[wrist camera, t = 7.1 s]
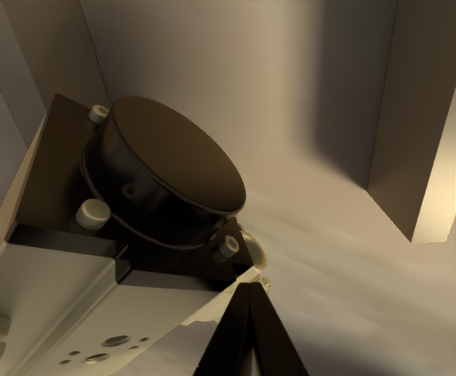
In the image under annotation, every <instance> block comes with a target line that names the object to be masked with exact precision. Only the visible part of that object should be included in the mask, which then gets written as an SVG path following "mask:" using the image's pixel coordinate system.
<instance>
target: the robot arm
mask: <svg viewBox="0 0 456 376" xmlns="http://www.w3.org/2000/svg"><path fill="white" fill-rule="evenodd" d="M253 349H254V356H255V363H256V369H257V376H310V375H309V373H308V371H307V369H306V368H305V367H304V364H303V362H302V360H301V358H300V356H299V354H298V352H297V350H296V348H295V346H294V345H293V343H292V341H291V339H290V337H289V335H288V333H287V331H286V329H285V327H284V326H283V324H282V322H281V320H280V318H279V316H278V314H277V312H276V310H275V309H274V307H273V305H272V303H271V301H270V299H269V297H268V295H267V293H266V291H265V290H264V288H263V286H262V284H261V283H260V282H250V283H249V282H240V283H239V284H238V285H237V287H236V289H235V291H234V293H233V295H232V297H231V299H230V301H229V304H228V306H227V308H226V310H225V312H224V314H223V316H222V318H221V320H220V322H219V324H218V326H217V328H216V330H215V332H214V334H213V336H212V338H211V340H210V342H209V344H208V346H207V348H206V350H205V352H204V354H203V356H202V358H201V360H200V362H199V364H198V367H197V368H196V370H195V372H194V374H193V376H251V371H252V357H253Z"/></svg>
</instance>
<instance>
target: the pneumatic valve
mask: <svg viewBox="0 0 456 376" xmlns="http://www.w3.org/2000/svg"><path fill="white" fill-rule="evenodd" d="M245 201H246V190H245V186H244V183H243V181H242V178H241V176H240V174H239V172H238V170H237V169H236V167H235V166H234V164H233V163H232V161H231V160H230V158H229V157H228V156H227V155H226V153H225V152H224V151H223V150H222V149H221V148H220V146H219V145H218V144H217V143H216V142H215V141H214V140H213V139H212V138H211V137H210V136H209V135H207V134H206V133H205V132H204V131H203V130H202V129H200V128H199V127H198V126H197V125H195V124H194V123H193V122H191V121H190V120H189V119H187V118H186V117H184V116H183V115H181V114H180V113H178V112H177V111H175V110H173V109H171V108H169V107H167V106H165V105H163V104H161V103H159V102H156V101H154V100H151V99H148V98H143V97H138V96H127V97H123V98H120V99H118V100H117V101H115V102H114V104H113V105H112V107H111V108H110V110H107V109H106V108H105V107H103V106H100V105H94V106H93V108H92V109H90V108H88V107H86V106H84V105H82V104H80V103H78V102H76V101H74V100H71V99H69V98H67V97H65V96H63V95H61V94H59V93H56V94H55V96H54V98H53V100H52V102H51V104H50V106H49V108H48V110H47V112H46V114H45V116H44V118H43V120H42V123H41V125H40V127H39V129H38V131H37V133H36V135H35V137H34V139H33V141H32V143H31V145H30V147H29V149H28V151H27V154H26V156H25V158H24V160H23V162H22V164H21V166H20V168H19V170H18V172H17V174H16V176H15V178H14V180H13V182H12V184H11V187H10V189H9V191H8V193H7V195H6V197H5V199H4V201H3V203H2V205H1V207H0V376H111V375H112V374H114V373H115V372H116V371H118V370H119V369H120V368H122V367H123V366H124V365H126V364H127V363H128V362H130V361H131V360H132V359H134V358H135V357H136V356H138V355H139V354H140V353H142V352H143V351H144V350H146V349H147V348H148V347H150V346H151V345H152V344H154V343H155V342H156V341H158V340H159V339H160V338H162V337H163V336H164V335H165V334H167V333H168V332H169V331H171V330H172V329H173V328H175V327H176V326H177V325H179V324H181V325H183V326H187V325H189V324H190V323H192V322H194V321H195V320H196V321H202V322H205V321H211V320H214V321H215V322H217V323H219V322H220V320H221V318H222V316H223V314H224V312H225V310H226V308H227V306H228V304H229V301H230V299H231V297H232V295H233V293H234V291H235V289H236V287H237V285H238V284H239V283H240V282H249V283H250V282H260V283H261V284H262V286H263V288H264V290H265V291H266V293H267V295H268V289H269V288H270V287H271V285H270V280H269V279H268V278H265V277H262V278H260V275H259V273H260V272H261V271H262V270H263V269H264V268H265V267H266V266H267V259H266V255H265V253H264V251H263V249H262V247H261V246H260V244H259V243H258V242H257V240H256V239H255V238H254V237H252V236H251V235H250V234H248V233H246V232H244V231H240V228H239V226H238V223H237V220H236V218H235V215H236V214H238V213H239V212H240V211H241V210H242V208H243V207H244V205H245Z"/></svg>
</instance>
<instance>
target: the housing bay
mask: <svg viewBox="0 0 456 376" xmlns="http://www.w3.org/2000/svg"><path fill="white" fill-rule="evenodd" d="M0 91H1V93H2V95H3V97H4V99H5V101H6V103H7V105H8V108H9V110H10V112H11V114H12V116H13V118H14V120H15V122H16V124H17V126H18V128H19V130H20V132H21V135H22V137H23V139H24V141H25V143H26V145H27V147H28V149H29V147H30V145H31V143H32V141H33V139H34V137H35V135H36V133H37V131H38V129H39V127H40V125H41V123H42V120H43V118H44V116H45V114H46V112H47V110H48V108H49V106H50V104H51V102H52V100H53V98H54V96H55V94H56V93H59V94H61V95H63V96H65V97H67V98H69V99H71V100H74V101H76V102H78V103H80V104H82V105H84V106H86V107H88V108H90V109H92V108H93V106H94V105H100V106H103V107H105V108H106V109H107V110H110V108H111V105H110V101H109V98H108V95H107V91H106V88H105V85H104V82H103V78H102V75H101V72H100V68H99V65H98V62H97V58H96V55H95V52H94V48H93V45H92V42H91V39H90V35H89V32H88V29H87V25H86V22H85V19H84V15H83V12H82V9H81V5H80V2H79V0H0ZM367 193H368V194H369V195H370V196H371V197H372V198H373V199H374V201H375V202H376V203H377V204H378V205H379V206H380V208H381V209H382V210H383V211H384V212H385V213H386V215H387V216H388V217H389V218H390V219H391V220H392V222H393V223H394V224H395V225H396V226H397V227H398V228H399V230H400V231H401V232H402V233H403V234H404V235H405V237H406V238H407V239H408V240H409V241H410V242H411V243H423V242H446V239H447V237H448V234H449V231H450V228H451V226H452V223H453V220H454V217H455V215H456V0H398V6H397V12H396V18H395V24H394V30H393V36H392V42H391V48H390V54H389V60H388V66H387V72H386V78H385V84H384V90H383V96H382V102H381V108H380V114H379V120H378V126H377V132H376V138H375V144H374V150H373V156H372V162H371V168H370V174H369V180H368V186H367Z"/></svg>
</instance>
